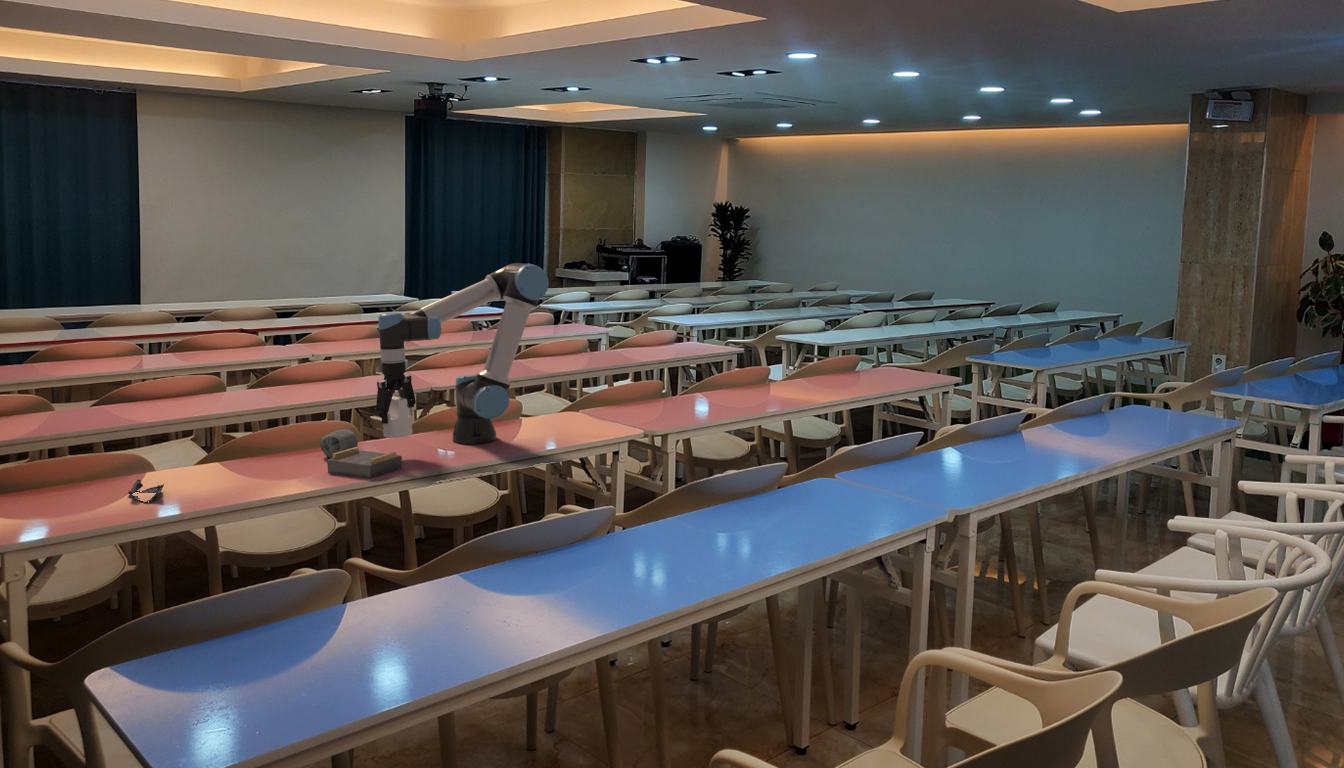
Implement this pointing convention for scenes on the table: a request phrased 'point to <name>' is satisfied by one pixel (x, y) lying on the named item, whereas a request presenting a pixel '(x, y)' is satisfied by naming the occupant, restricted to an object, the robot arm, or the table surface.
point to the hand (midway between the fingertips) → (397, 429)
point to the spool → (338, 442)
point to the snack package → (138, 485)
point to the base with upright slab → (399, 418)
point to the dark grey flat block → (363, 463)
